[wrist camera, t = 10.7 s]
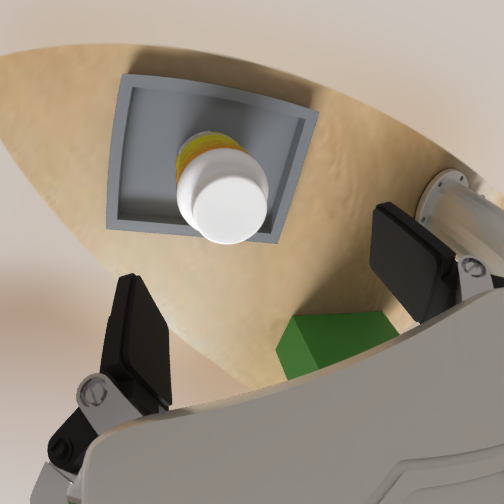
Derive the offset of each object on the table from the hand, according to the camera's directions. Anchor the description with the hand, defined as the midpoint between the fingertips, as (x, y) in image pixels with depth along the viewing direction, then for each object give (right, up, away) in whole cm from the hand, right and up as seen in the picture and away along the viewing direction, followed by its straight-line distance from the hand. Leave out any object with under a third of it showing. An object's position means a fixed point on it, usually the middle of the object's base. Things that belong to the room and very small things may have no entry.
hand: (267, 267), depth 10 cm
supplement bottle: (-4, +8, +12) cm, 15 cm away
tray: (-5, +8, +12) cm, 16 cm away
